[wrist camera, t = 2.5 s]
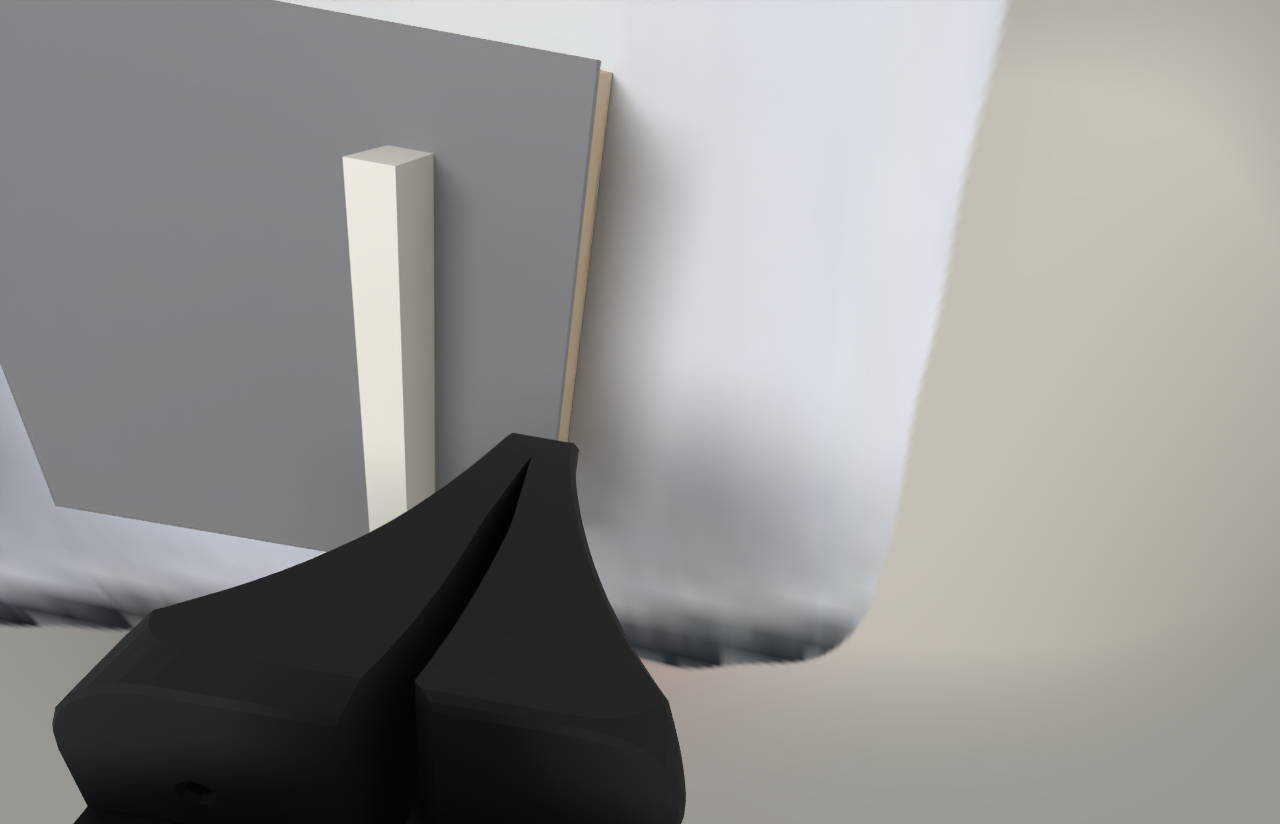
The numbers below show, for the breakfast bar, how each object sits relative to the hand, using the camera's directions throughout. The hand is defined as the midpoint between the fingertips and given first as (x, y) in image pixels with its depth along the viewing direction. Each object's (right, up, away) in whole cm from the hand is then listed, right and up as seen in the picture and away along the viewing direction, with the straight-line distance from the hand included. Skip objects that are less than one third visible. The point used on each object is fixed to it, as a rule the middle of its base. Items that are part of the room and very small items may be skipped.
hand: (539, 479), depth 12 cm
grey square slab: (-7, +5, +6) cm, 10 cm away
